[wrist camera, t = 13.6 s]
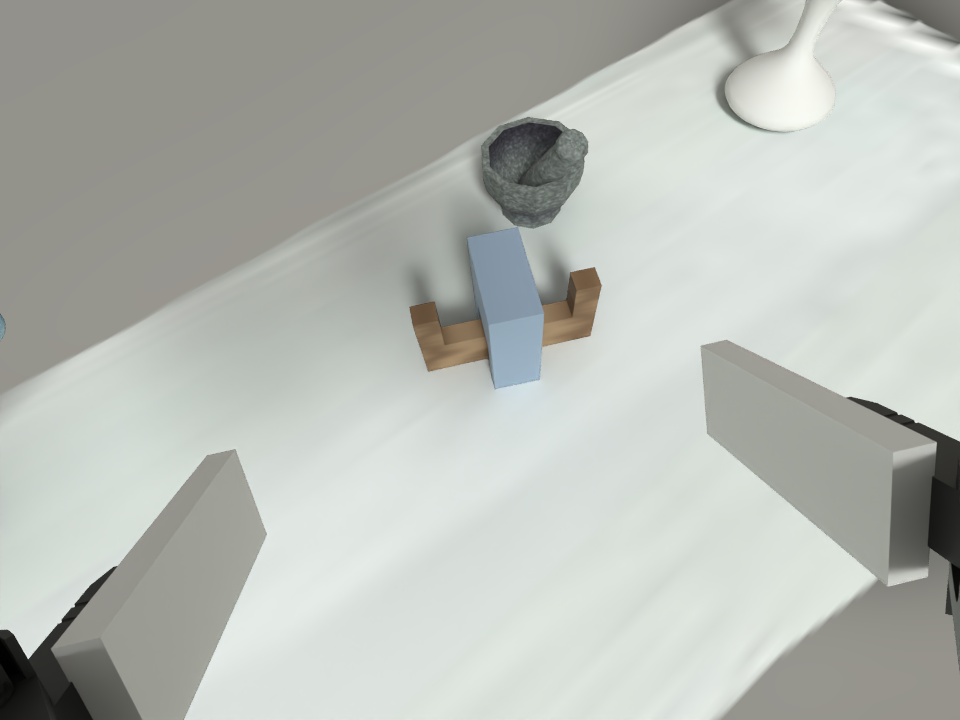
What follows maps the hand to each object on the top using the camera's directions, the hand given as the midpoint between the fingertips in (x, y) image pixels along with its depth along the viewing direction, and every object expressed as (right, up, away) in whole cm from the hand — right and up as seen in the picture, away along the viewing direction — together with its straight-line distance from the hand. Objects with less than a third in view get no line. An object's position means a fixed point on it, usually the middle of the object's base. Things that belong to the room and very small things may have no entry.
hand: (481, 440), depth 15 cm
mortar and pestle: (+6, +18, +42) cm, 46 cm away
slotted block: (+2, +4, +35) cm, 35 cm away
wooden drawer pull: (+2, +4, +35) cm, 35 cm away
